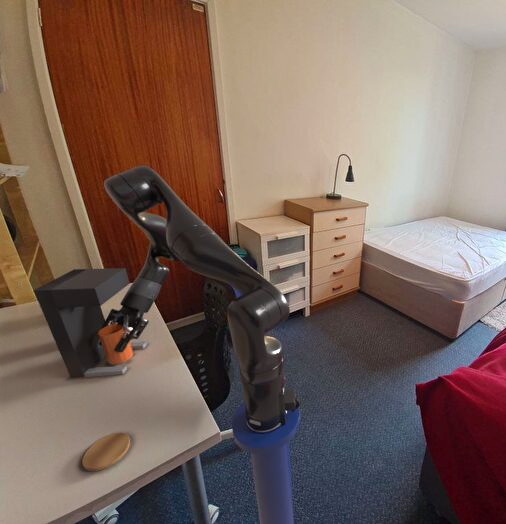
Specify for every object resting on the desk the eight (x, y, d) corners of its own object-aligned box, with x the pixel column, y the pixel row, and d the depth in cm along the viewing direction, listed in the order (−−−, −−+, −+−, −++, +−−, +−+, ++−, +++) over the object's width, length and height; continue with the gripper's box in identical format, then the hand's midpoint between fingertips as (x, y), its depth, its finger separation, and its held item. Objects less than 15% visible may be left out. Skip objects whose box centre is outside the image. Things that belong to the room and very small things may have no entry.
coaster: (137, 433, 63) (136, 430, 62) (116, 468, 56) (115, 466, 55) (99, 437, 61) (98, 434, 61) (73, 474, 55) (72, 471, 54)
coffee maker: (146, 344, 91) (125, 268, 81) (123, 374, 79) (94, 288, 69) (101, 347, 88) (74, 269, 79) (70, 378, 77) (33, 290, 67)
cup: (137, 350, 87) (129, 322, 83) (126, 363, 81) (116, 335, 78) (116, 351, 86) (106, 324, 82) (103, 365, 80) (92, 336, 77)
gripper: (115, 286, 86) (81, 340, 80) (147, 295, 81) (114, 353, 75) (137, 294, 92) (107, 344, 86) (168, 303, 88) (139, 357, 82)
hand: (110, 348), depth 81 cm, fingers closed on cup, 6 cm apart
